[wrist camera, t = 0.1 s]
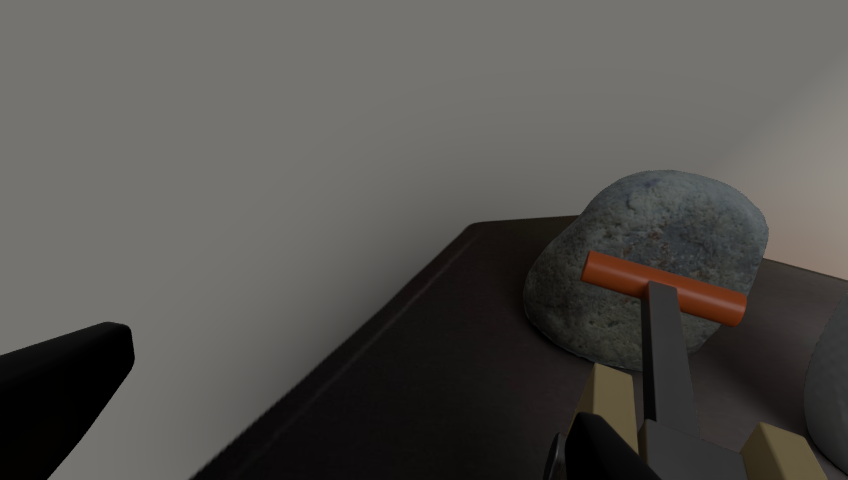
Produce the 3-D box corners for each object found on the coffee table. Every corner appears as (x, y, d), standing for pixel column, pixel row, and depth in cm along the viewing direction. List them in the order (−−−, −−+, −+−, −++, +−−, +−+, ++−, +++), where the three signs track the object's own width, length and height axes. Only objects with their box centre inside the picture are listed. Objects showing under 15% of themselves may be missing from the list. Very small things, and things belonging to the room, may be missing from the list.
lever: (578, 278, 20) (594, 235, 19) (720, 322, 18) (748, 276, 17) (528, 538, 10) (554, 482, 9) (821, 681, 9) (902, 638, 7)
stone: (530, 278, 45) (572, 134, 39) (684, 329, 40) (760, 175, 34) (501, 340, 34) (553, 154, 28) (707, 419, 29) (822, 217, 23)
